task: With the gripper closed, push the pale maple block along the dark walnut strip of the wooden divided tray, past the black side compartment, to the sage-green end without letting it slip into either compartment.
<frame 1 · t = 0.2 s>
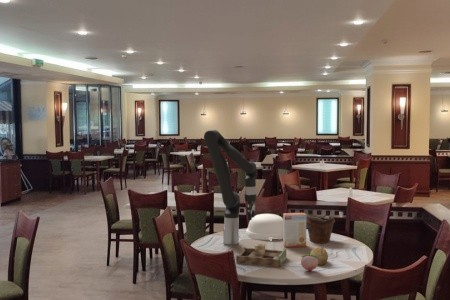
hand: (251, 218, 316), 17 cm above the table, tool pointing down, fingers open, 8 cm apart
wooden divided tray: (261, 260, 285), on the table
maple block: (259, 253, 288), point 3 cm above the table, touching wooden divided tray
cracker box: (294, 246, 316), on the table
bread roll: (318, 262, 282), on the table
decorative fruit: (309, 271, 266), on the table
dome cover: (267, 235, 346), on the table
brown plant pot: (320, 241, 329), on the table
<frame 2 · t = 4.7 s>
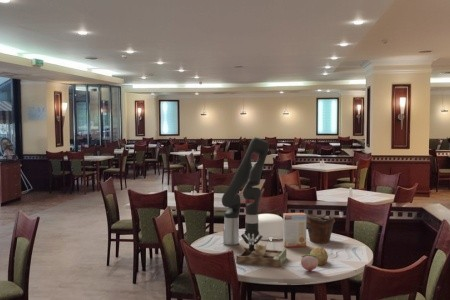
hand: (251, 250, 290), 4 cm above the table, tool pointing down, fingers closed
maple block: (260, 253, 288), point 3 cm above the table, touching gripper, wooden divided tray
everything else where it was.
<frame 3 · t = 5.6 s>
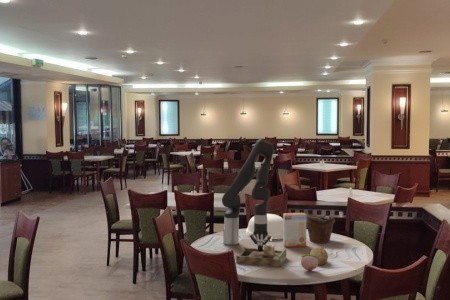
hand: (260, 251, 288), 4 cm above the table, tool pointing down, fingers closed
maple block: (269, 254, 286), point 3 cm above the table, touching gripper
everything else where it was.
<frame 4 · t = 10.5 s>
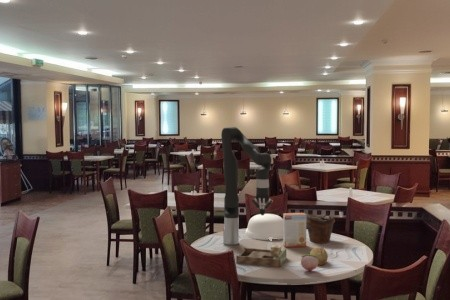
hand: (262, 215, 299), 23 cm above the table, tool pointing down, fingers closed
maple block: (275, 254, 285), point 3 cm above the table, touching wooden divided tray
everything else where it was.
at the end: maple block 1.6 cm from the target spot on the wooden divided tray, point 3.0 cm above the wooden divided tray's base; maple block tilted 0° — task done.
